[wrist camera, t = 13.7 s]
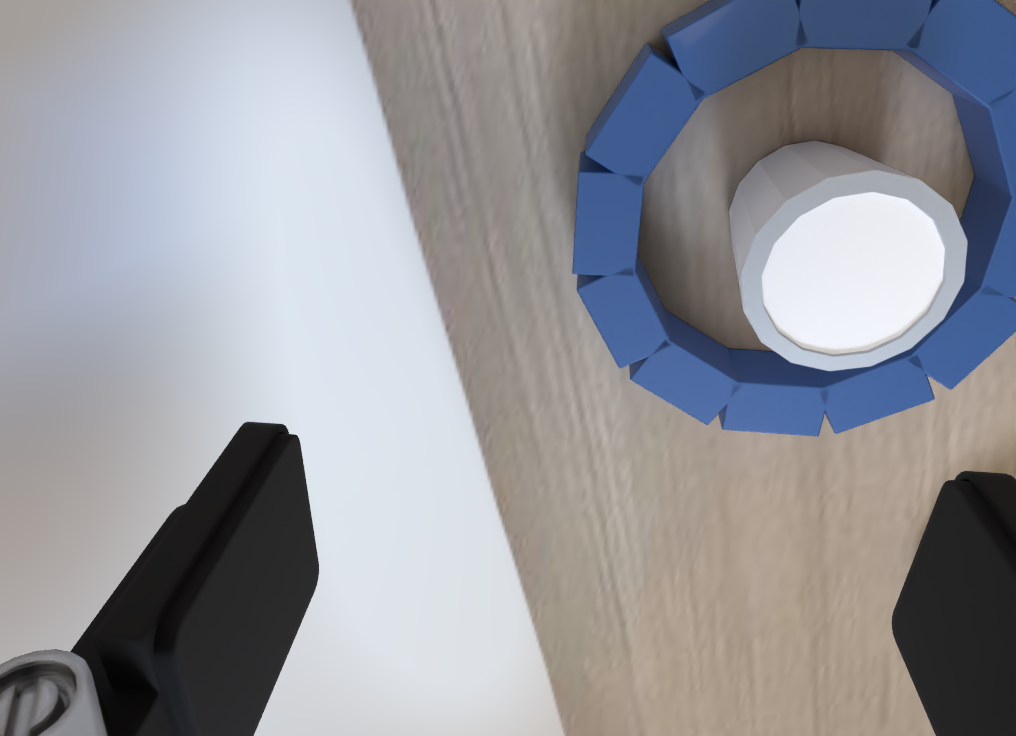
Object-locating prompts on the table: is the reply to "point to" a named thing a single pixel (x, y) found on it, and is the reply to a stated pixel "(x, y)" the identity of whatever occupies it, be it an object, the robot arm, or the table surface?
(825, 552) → the table surface
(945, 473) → the table surface
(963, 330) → the ring
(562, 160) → the table surface
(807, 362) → the white cylinder
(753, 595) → the table surface
